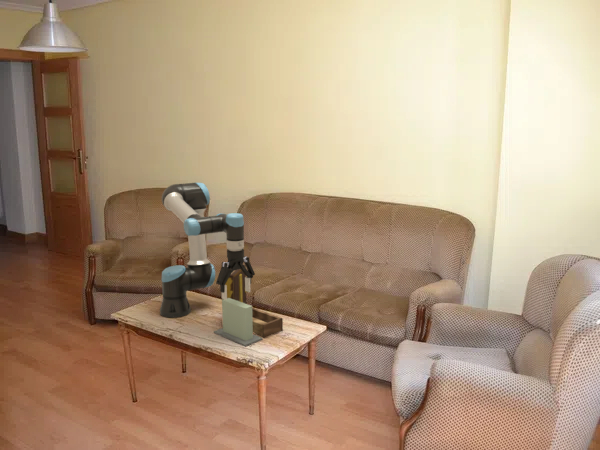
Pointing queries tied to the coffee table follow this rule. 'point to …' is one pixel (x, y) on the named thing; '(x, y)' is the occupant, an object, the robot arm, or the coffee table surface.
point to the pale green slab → (237, 319)
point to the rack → (268, 322)
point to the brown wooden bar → (258, 326)
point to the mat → (238, 340)
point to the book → (236, 286)
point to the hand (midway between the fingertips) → (236, 295)
